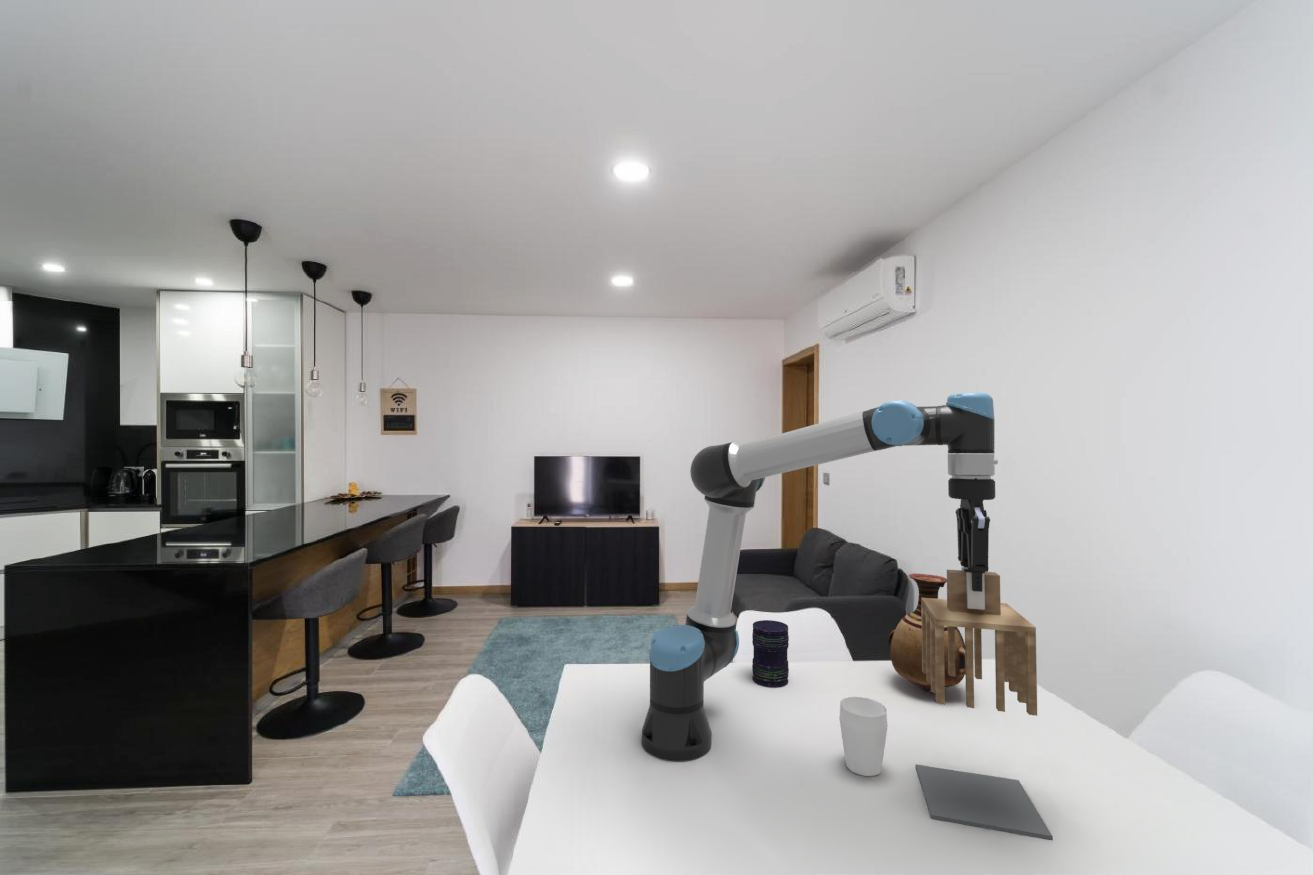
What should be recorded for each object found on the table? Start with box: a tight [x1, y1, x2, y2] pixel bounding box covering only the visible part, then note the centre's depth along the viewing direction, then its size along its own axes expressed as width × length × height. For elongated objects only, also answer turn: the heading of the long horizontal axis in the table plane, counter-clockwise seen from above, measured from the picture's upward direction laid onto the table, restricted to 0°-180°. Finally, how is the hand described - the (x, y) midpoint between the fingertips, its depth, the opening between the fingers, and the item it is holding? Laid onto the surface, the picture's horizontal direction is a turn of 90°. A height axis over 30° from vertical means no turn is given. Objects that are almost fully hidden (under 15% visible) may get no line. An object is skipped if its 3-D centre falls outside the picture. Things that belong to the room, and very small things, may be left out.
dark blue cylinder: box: [751, 619, 790, 689], centre depth 152 cm, size 10×10×15 cm
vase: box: [887, 573, 965, 692], centre depth 146 cm, size 21×18×30 cm
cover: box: [921, 569, 1038, 717], centre depth 101 cm, size 15×15×22 cm
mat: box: [914, 763, 1053, 841], centre depth 100 cm, size 18×16×1 cm
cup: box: [838, 696, 889, 777], centre depth 110 cm, size 9×9×12 cm
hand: (973, 605), depth 101 cm, fingers closed on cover, 3 cm apart
